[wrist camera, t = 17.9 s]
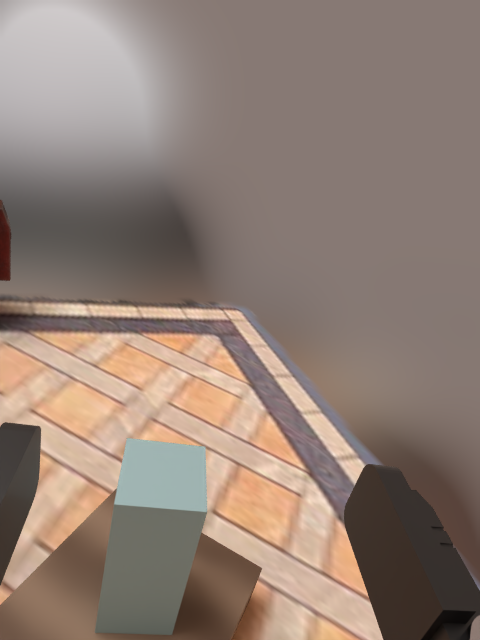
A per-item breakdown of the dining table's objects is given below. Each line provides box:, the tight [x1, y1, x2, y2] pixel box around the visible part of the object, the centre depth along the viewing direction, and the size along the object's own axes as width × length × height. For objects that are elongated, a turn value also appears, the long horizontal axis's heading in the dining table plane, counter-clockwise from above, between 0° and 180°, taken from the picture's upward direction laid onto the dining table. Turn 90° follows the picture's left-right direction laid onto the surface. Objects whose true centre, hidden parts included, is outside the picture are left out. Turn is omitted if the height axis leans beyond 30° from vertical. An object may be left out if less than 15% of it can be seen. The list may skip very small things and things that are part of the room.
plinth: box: [0, 489, 262, 640], centre depth 32 cm, size 14×14×4 cm
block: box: [95, 438, 207, 635], centre depth 28 cm, size 5×5×12 cm
